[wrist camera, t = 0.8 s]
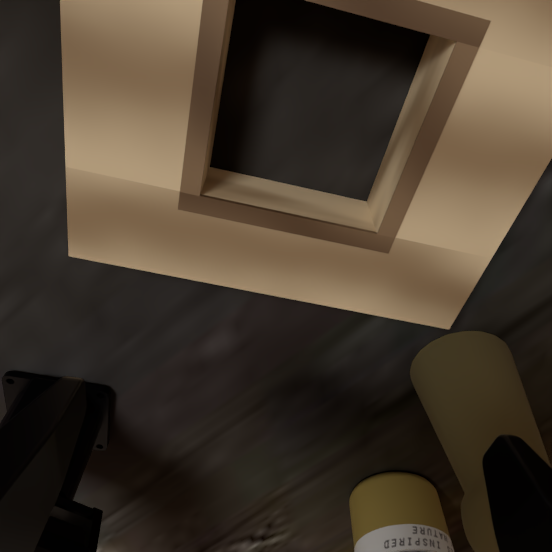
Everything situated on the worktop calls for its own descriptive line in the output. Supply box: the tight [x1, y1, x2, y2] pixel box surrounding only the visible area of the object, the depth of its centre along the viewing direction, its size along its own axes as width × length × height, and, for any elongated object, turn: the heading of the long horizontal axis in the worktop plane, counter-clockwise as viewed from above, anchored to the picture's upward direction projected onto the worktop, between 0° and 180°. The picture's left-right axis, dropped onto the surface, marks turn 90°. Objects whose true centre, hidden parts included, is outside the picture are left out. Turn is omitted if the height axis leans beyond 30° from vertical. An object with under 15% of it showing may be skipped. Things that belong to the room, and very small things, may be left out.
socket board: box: [60, 0, 552, 329], centre depth 18 cm, size 16×18×3 cm
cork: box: [410, 331, 551, 552], centre depth 24 cm, size 6×6×11 cm
